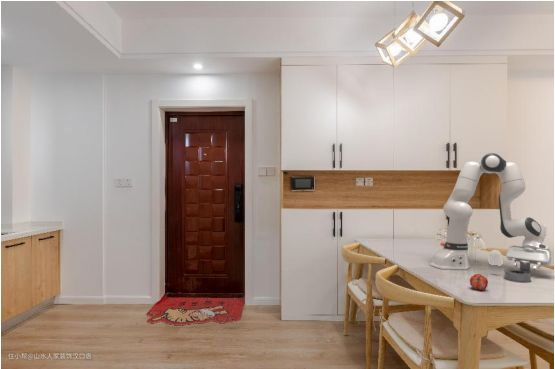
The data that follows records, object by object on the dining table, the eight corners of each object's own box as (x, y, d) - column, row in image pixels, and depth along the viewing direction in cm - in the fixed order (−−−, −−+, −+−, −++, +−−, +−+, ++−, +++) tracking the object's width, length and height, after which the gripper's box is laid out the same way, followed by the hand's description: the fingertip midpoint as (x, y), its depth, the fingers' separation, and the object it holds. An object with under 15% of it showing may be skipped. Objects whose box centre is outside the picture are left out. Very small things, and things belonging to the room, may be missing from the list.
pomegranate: (469, 291, 174) (465, 281, 168) (474, 277, 177) (470, 268, 171) (486, 296, 169) (482, 286, 163) (491, 282, 172) (487, 272, 166)
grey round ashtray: (516, 282, 182) (516, 274, 182) (499, 277, 192) (499, 269, 192) (535, 282, 183) (535, 274, 183) (518, 276, 194) (518, 269, 194)
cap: (524, 277, 192) (524, 262, 192) (517, 275, 197) (517, 260, 197) (532, 277, 193) (532, 262, 193) (525, 275, 197) (525, 260, 197)
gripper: (508, 241, 207) (501, 261, 201) (552, 247, 191) (545, 268, 185) (511, 248, 210) (504, 268, 204) (554, 254, 194) (548, 275, 188)
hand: (524, 268), depth 194 cm, fingers open, 8 cm apart
